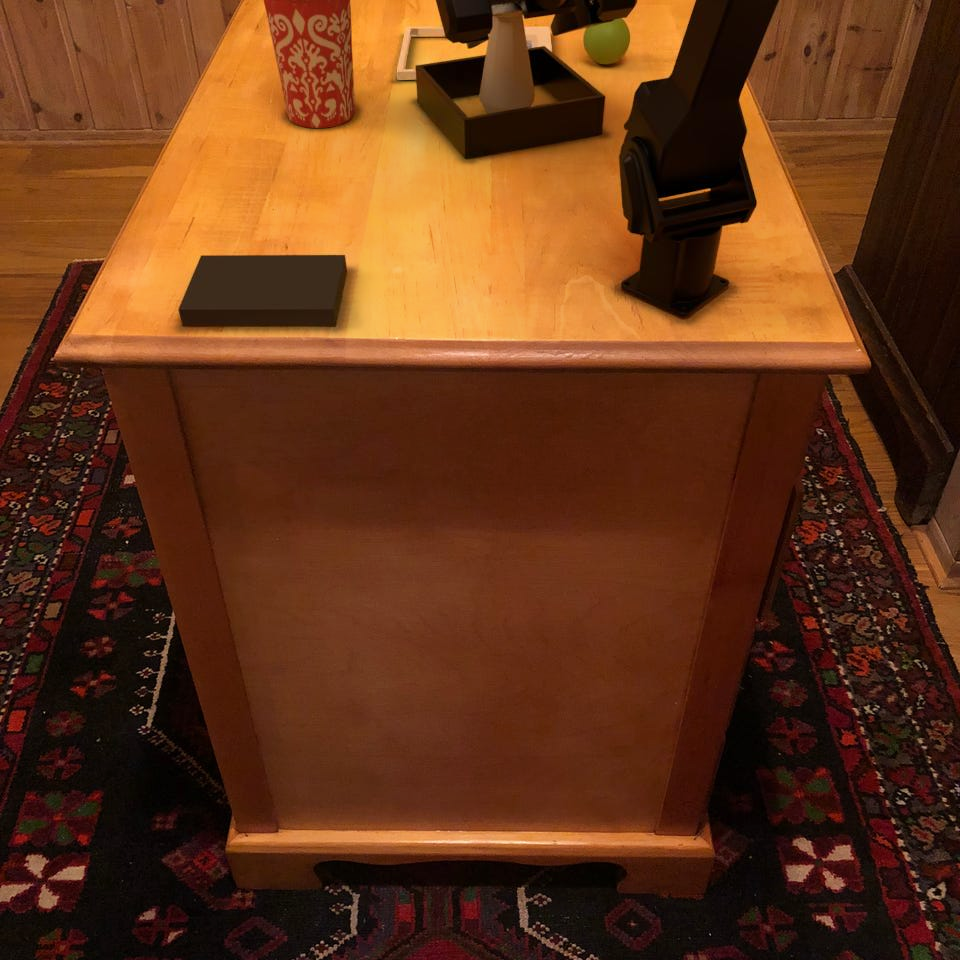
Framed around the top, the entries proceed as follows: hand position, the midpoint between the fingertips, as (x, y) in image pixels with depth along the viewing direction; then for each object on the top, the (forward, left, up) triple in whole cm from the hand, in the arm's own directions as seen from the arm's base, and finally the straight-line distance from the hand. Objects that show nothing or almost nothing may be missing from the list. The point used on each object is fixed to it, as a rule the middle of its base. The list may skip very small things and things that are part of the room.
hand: (511, 37), depth 95 cm
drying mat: (-39, -8, -9) cm, 40 cm away
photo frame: (+11, +15, -9) cm, 21 cm away
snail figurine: (+19, +3, -9) cm, 21 cm away
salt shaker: (0, +1, -9) cm, 9 cm away
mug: (-11, +17, -9) cm, 22 cm away
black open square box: (0, +1, -9) cm, 9 cm away
